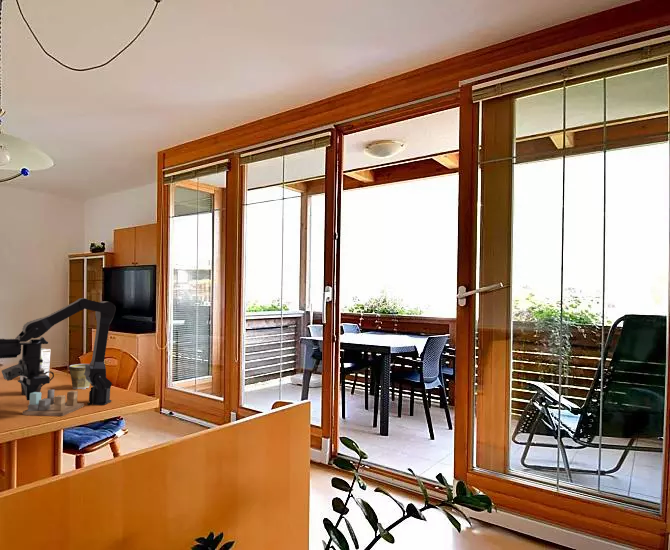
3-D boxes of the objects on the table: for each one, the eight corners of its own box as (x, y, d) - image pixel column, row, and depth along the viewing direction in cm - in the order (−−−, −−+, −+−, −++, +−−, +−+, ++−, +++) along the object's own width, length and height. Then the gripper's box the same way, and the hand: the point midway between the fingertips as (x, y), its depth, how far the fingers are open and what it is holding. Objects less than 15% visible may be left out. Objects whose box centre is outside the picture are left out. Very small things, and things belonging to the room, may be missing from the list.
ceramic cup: (93, 389, 208) (94, 366, 208) (67, 391, 203) (69, 367, 204) (93, 384, 219) (94, 362, 220) (68, 385, 215) (69, 363, 215)
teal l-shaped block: (42, 404, 173) (43, 389, 173) (49, 405, 173) (50, 389, 173) (28, 409, 166) (29, 393, 166) (35, 409, 166) (36, 393, 166)
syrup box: (29, 379, 224) (31, 349, 225) (40, 377, 230) (42, 347, 231) (38, 380, 223) (40, 349, 223) (49, 378, 228) (51, 348, 229)
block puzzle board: (83, 406, 178) (84, 389, 178) (62, 416, 164) (63, 397, 164) (47, 405, 178) (48, 387, 178) (22, 414, 164) (23, 395, 165)
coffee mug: (15, 396, 191) (16, 371, 191) (23, 391, 199) (24, 368, 199) (47, 395, 194) (48, 371, 194) (53, 391, 202) (55, 367, 202)
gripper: (-5, 355, 168) (-7, 398, 168) (15, 362, 157) (12, 409, 157) (30, 352, 177) (28, 394, 177) (51, 359, 166) (49, 404, 166)
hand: (28, 400), depth 169 cm, fingers closed
